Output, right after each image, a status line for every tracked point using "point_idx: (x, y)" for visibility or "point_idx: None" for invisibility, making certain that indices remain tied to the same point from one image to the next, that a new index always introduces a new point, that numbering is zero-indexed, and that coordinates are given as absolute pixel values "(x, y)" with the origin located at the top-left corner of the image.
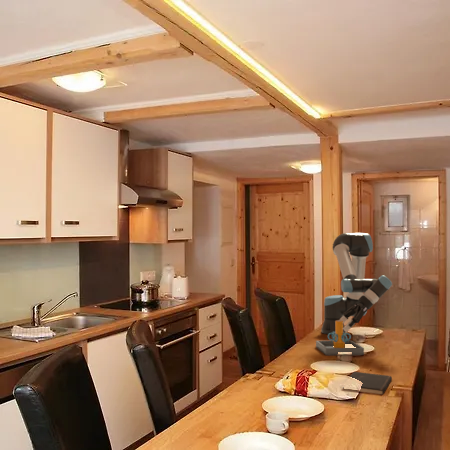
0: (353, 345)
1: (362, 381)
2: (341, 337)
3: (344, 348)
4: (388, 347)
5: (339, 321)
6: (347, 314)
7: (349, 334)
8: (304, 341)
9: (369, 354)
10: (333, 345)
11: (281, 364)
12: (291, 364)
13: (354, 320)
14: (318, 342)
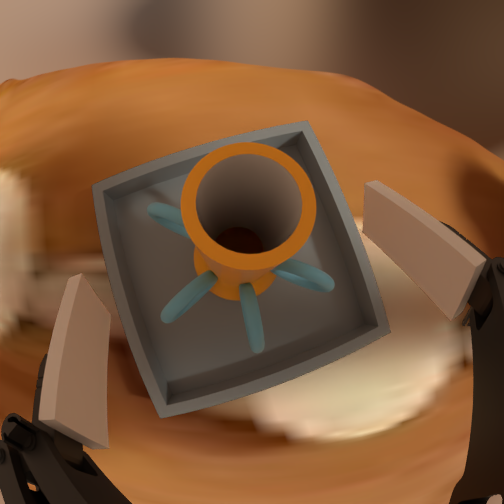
0: (315, 350)
1: None
2: (209, 270)
3: (114, 296)
4: (382, 477)
5: (181, 207)
6: (494, 329)
7: (252, 344)
8: (395, 107)
9: (194, 430)
10: (330, 225)
11: (9, 101)
12: (3, 122)
13: (19, 443)
14: (260, 131)
